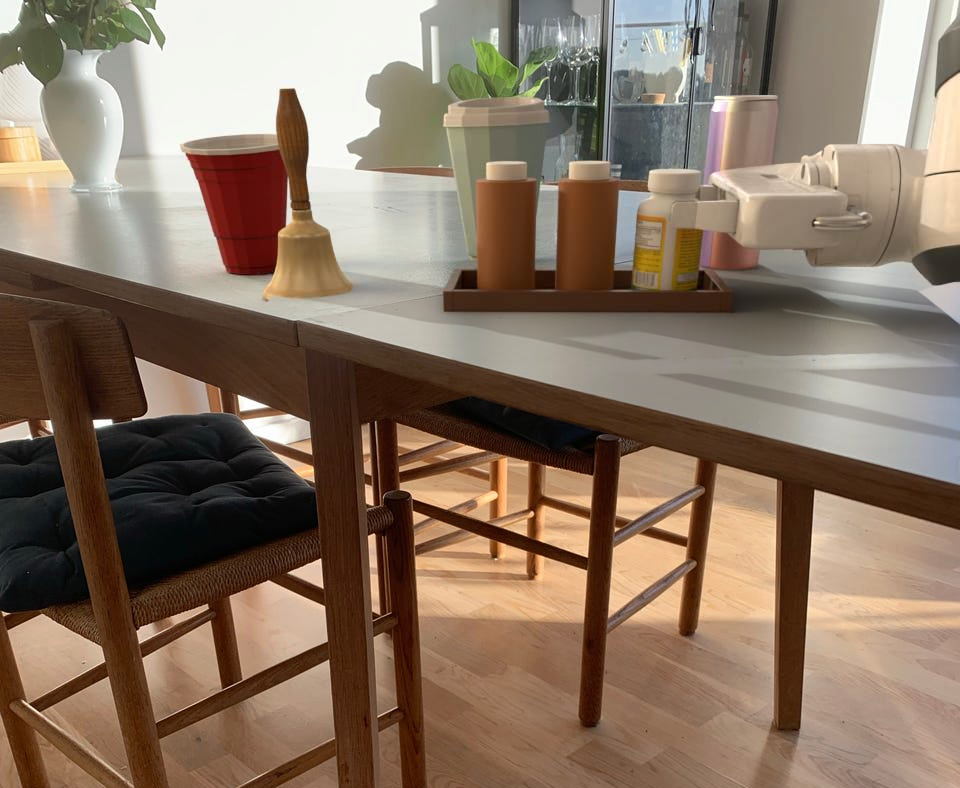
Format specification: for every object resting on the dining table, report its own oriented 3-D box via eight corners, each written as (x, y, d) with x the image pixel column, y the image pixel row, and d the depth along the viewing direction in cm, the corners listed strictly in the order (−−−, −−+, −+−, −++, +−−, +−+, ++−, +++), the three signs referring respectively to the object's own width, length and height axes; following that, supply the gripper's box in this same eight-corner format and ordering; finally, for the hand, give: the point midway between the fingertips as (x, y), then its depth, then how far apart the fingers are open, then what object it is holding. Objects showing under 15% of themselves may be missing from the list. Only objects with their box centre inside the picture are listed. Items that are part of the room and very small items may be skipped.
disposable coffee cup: (541, 270, 94) (545, 97, 87) (436, 268, 96) (431, 98, 88) (551, 253, 103) (555, 96, 96) (455, 252, 105) (451, 97, 97)
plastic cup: (176, 276, 93) (154, 139, 87) (235, 259, 102) (218, 133, 96) (273, 282, 90) (257, 140, 84) (325, 264, 99) (314, 134, 93)
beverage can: (682, 271, 93) (699, 96, 86) (716, 264, 97) (735, 95, 89) (735, 278, 89) (757, 96, 82) (768, 270, 93) (792, 95, 85)
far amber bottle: (531, 292, 82) (533, 160, 76) (537, 303, 77) (540, 164, 72) (475, 293, 81) (474, 160, 76) (479, 304, 77) (478, 165, 72)
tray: (709, 294, 83) (712, 268, 82) (730, 320, 74) (733, 292, 73) (454, 293, 84) (453, 268, 83) (443, 318, 75) (442, 291, 74)
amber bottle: (606, 292, 81) (614, 159, 76) (617, 303, 77) (626, 164, 72) (551, 293, 81) (555, 160, 76) (559, 304, 77) (563, 164, 72)
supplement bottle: (629, 305, 76) (639, 173, 71) (630, 292, 81) (639, 167, 76) (697, 306, 76) (711, 173, 71) (694, 293, 80) (707, 168, 75)
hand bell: (308, 308, 79) (287, 88, 71) (243, 297, 84) (216, 89, 75) (376, 293, 85) (363, 87, 77) (311, 283, 89) (293, 88, 81)
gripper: (871, 272, 67) (675, 271, 68) (804, 232, 85) (649, 232, 86) (890, 173, 64) (684, 174, 65) (816, 153, 82) (655, 154, 82)
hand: (664, 207), depth 75 cm, fingers open, 8 cm apart
